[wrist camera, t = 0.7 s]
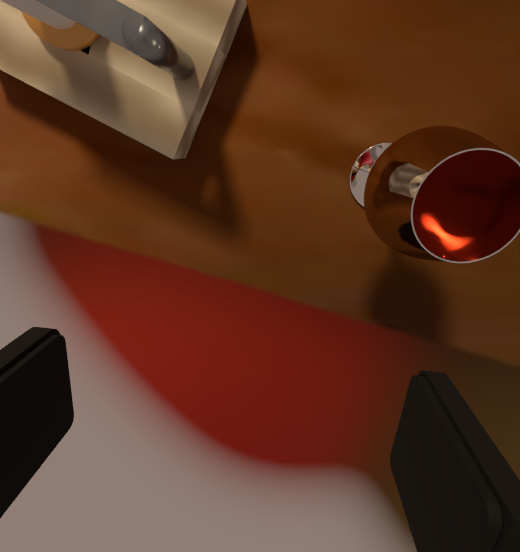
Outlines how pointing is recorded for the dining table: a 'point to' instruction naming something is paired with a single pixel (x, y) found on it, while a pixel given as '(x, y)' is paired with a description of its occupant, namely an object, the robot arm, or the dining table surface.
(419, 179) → the wineglass
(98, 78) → the socket block
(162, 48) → the grey bar
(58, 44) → the plug
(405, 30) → the dining table surface
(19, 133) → the dining table surface
